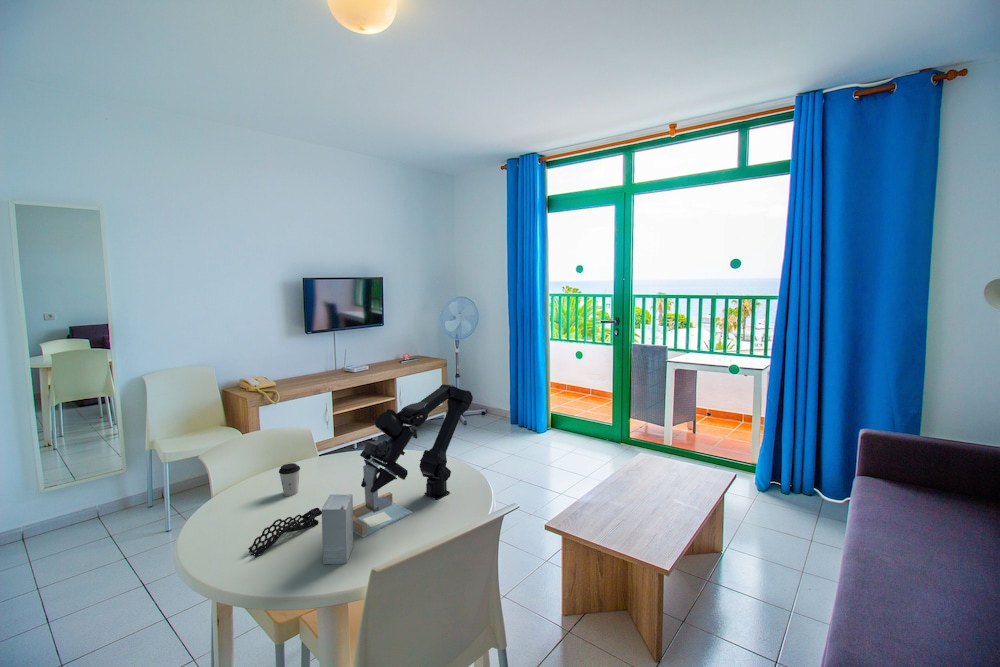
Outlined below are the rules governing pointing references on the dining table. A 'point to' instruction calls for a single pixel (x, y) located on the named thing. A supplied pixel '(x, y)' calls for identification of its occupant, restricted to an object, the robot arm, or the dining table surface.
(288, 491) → the coffee cup
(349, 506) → the skincare box
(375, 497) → the grey tall post
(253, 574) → the dining table surface
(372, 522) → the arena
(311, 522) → the decorative element
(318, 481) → the dining table surface
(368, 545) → the dining table surface
